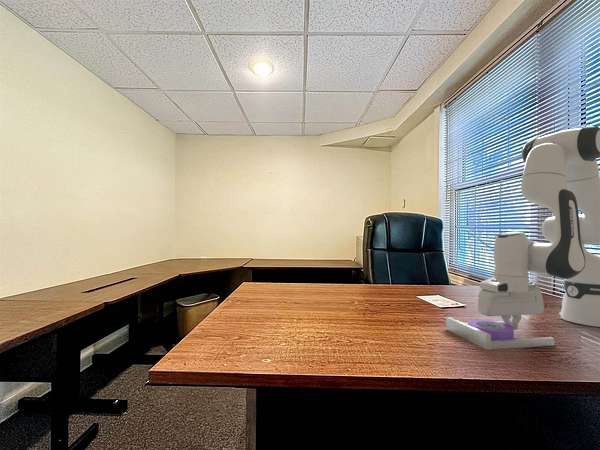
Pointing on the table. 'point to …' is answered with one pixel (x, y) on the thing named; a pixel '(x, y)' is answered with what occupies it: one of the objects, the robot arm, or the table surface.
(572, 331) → the table surface
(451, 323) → the guide channel
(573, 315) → the robot arm
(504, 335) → the masking tape
